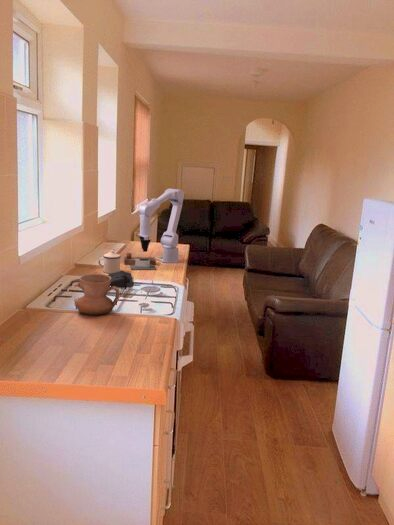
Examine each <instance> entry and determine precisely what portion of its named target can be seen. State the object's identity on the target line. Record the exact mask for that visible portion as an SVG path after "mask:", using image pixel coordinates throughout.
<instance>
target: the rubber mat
mask: <svg viewBox="0 0 394 525" xmlns="http://www.w3.org/2000/svg"><path fill="white" fill-rule="evenodd" d="M129 267H130V270H131V271H157V267H156V265H150V268H135V265H129Z"/></svg>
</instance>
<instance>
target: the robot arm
mask: <svg viewBox="0 0 394 525" xmlns="http://www.w3.org/2000/svg"><path fill="white" fill-rule="evenodd" d="M184 198H185V193H184V191H183V190H182V189H180V188H179V189H177V188H176V189H175V188H170V187H169V188H167V189H165V190H164V192H163V193H162V194H161V195H160V196H159V197H157V198H151V199H150V201H149V202H146V203H145V204H142V205H140V206H139V208H138V211H137V212H138V215H139V218H140V219H139V223H140V224H139V233H137V236H139V237H138V238H139V240H140V245H141V250H142V251H143V252H145V253H146V252H148V250H149V246H150V243H151V241H152V240H151V239H149V238H150V237H151V218H152V217H151V216H152V215H153V214H154V212H155V211H156V210H158V209H159V208H160V207H161V204H162V203H164V202H166V201H169V202H170V203H171V205H172V208H171V213H170V217H169V221H168V225H167V230H166V231H164V232H163V234H162V236H161V238H160V244H161V246H162V259H163V260H161V262H162V263H166V264H167V263H168V264H170V263H171V264H177V263H179V255H180V254H179V252H180V251H179V247H177V246H178V245H179V235H178V234H177V231H178V230H177V228H178V225H179V221H180V216H181V212H182V208H183V204H184V203H183V202H184Z"/></svg>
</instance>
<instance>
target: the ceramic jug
mask: <svg viewBox="0 0 394 525" xmlns="http://www.w3.org/2000/svg"><path fill="white" fill-rule="evenodd" d="M110 284H111V277H110V276H108V274H102V273H90V274H89V273H88V274H83V275H81V276H80V277H79V282H75V283H73V287H74V288H76V287H77V288H79V289H81V290H82V292H83V296H80V298H78V299H77V300H75V301H74V304H75V306H76V309H77V310H78V312H80V313H83V314H85V315H91V316H97V315H99V316H100V315H104V314H107V313H109V312H111V310H113V308H114V307H115V305H116V303H117V301H118V300H119V297H120V294H121V293H120V289H119V287H115V286H111V287H110ZM112 290H113V291H115V298H114V299H113V300H112V299H111V298H110V297H109V296H107V293H108V292H110V291H112Z"/></svg>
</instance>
